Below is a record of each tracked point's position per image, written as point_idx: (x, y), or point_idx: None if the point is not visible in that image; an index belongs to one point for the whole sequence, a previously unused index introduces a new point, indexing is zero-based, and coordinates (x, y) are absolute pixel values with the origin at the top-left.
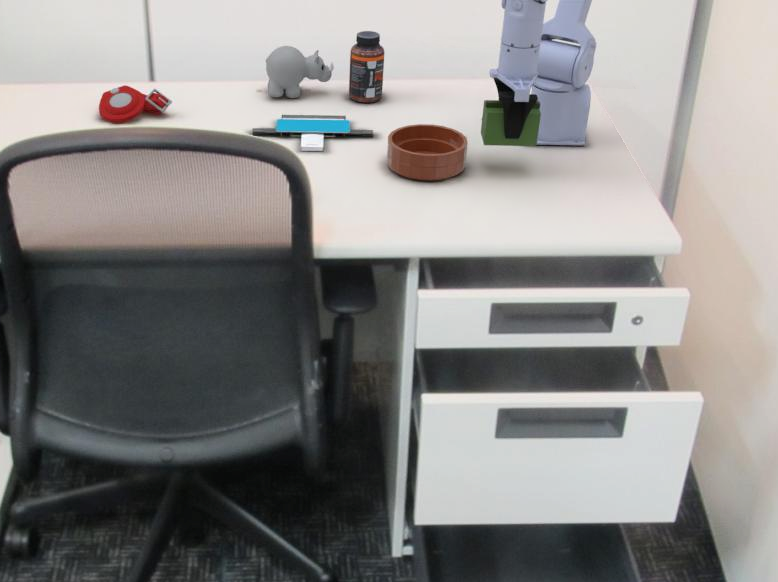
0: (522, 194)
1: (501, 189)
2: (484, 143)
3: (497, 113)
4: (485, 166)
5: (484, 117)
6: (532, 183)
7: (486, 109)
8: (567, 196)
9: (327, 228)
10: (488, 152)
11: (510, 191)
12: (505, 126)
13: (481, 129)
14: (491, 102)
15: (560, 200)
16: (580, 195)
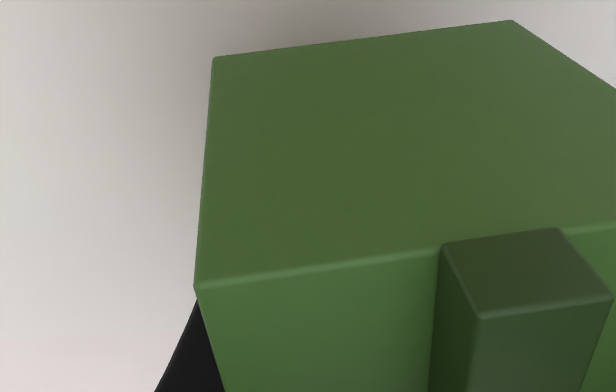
0: (23, 211)
1: (39, 113)
2: (212, 66)
3: (229, 384)
4: (349, 14)
5: (439, 134)
6: (174, 244)
7: (364, 254)
8: (86, 356)
9: None
10: (552, 29)
11: (34, 158)
12: (180, 346)
13: (497, 36)
14: (472, 387)
15: (33, 340)
16: (114, 387)
